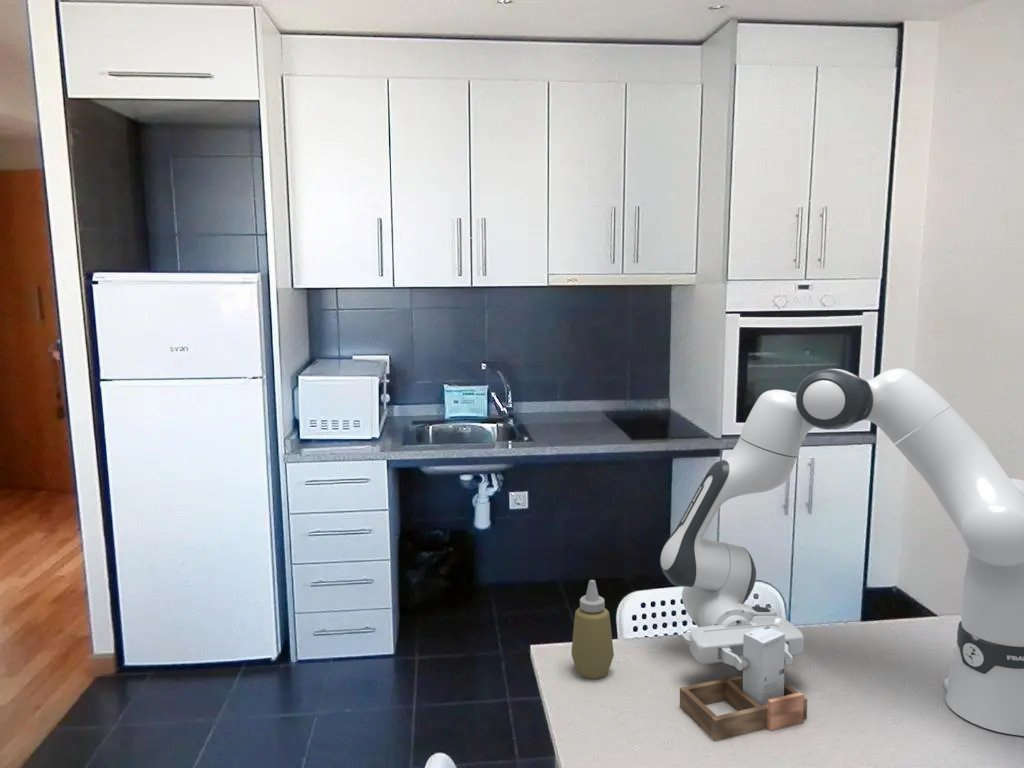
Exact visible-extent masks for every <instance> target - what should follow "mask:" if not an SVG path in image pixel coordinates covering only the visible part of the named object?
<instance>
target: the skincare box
mask: <svg viewBox="0 0 1024 768" xmlns="http://www.w3.org/2000/svg"><path fill="white" fill-rule="evenodd" d="M743 657H744V658H745V659H746V660H747V663H748V665H747V670H742V674H743V691H744V692H745V693H746V694H747V695H748V696H750V697H751V698H752V699H753V700H755V701H756V702H757V703H758V704H760V705H761V706H762V705H767V704H768V700H769V699H773V698H778V697H782V696H784V682H785V666H784V661H785V660H784V657H785V634H784V633H782V632H780V631H777V630H775V629H772V628H770V627H768V626H764V627H761V628H757V629H754V630H752V631H750V632H748V633H745V634H744V636H743Z"/></svg>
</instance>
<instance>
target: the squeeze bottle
mask: <svg viewBox="0 0 1024 768" xmlns="http://www.w3.org/2000/svg"><path fill="white" fill-rule="evenodd" d="M596 583H597V582H596V580H595V579H589V581H588V584H587V590H586V593H585V595H583V596H581V598H579V607H578V608H577V609H576V610H575V612H574V621H573V622H574V623H573V631H572V643H571V657H572V660H573V663H574V666H575V669H576V672H577V673H578V674H579V675H580V676H582V677H583V678H588V679H599V678H600V679H601V678H603V677H605V676H607V675H608V673H609V671H610V667H611V666H612V661H613V659H614V656H615V654H614V645H613V644H614V643H613V636H612V634H613V633H612V625H611V615H610V611H609V610H608V609H607V608H606V604H605V598H604V597H602V596H600V595H599V592H598V591H599V590H598V587H597V584H596Z"/></svg>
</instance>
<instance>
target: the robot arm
mask: <svg viewBox="0 0 1024 768" xmlns="http://www.w3.org/2000/svg"><path fill="white" fill-rule="evenodd" d="M861 421H868V422H870V423H872V424H874V425H876V426H877V427H878V428H879V429H880V430H881V431H882V432H883V433H884V434H885V435H886V436H887V438H888V439H889V440H890V441H891V443H892V444H894V446H895V447H896V448H897V449H898V450H899V452H900V453H901V454H902V455H903V456H904V458H906V459H907V460H908V462H909V463H910V465H911V466H913V468H914V469H916V471H917V472H918V473H919V475H920V476H921V477H922V479H923V480H924V481H925V482H926V484H928V486H929V487H930V489H931V490H932V492H933V493H934V495H935V496H936V498H937V500H938V502H939V503H940V505H941V506H942V508H943V509H944V511H945V512H946V514H947V515H948V517H949V518H950V520H951V521H952V523H953V524H954V526H955V527H956V528H957V530H958V531H959V533H960V535H961V537H962V539H963V542H964V543H965V546H966V548H967V549H968V555H967V559H966V566H965V567H966V568H965V573H964V579H963V589H962V590H963V591H962V607H961V620H960V621H959V622H958V626H957V627H958V628H957V630H956V637H957V638H956V645H955V646H954V648H953V651H952V653H953V654H952V657H951V658H952V659H951V663H950V669H949V675H948V677H946V678H944V679H943V680H944V681H943V684H942V685H943V687H944V689H945V690H946V695H945V703H946V704H947V706H948V707H949V709H951V711H953V713H955V714H956V715H958V716H960V717H961V718H962V719H964V720H966V721H968V722H969V723H972V724H974V725H976V726H979V727H981V728H984V729H988V730H990V731H994V732H998V733H1000V734H1001V733H1003V734H1008V735H1012V736H1013V735H1014V736H1021V737H1024V480H1023V479H1020V478H1013V477H1011V478H1010V477H1009V476H1008V474H1007V473H1006V472H1005V471H1004V469H1003V468H1002V466H1001V465H1000V463H999V462H998V461H997V458H995V456H994V455H993V454H992V452H991V450H990V449H989V447H988V444H987V442H985V441H984V439H983V438H981V436H979V434H978V433H977V432H976V431H975V430H974V429H973V428H972V427H971V425H969V423H968V422H967V421H966V420H965V419H964V418H963V417H962V415H960V414H959V413H958V411H956V409H955V408H954V407H953V406H951V404H950V403H949V402H948V401H947V400H946V399H945V398H944V397H943V396H942V395H941V394H940V393H939V392H938V391H936V389H935V388H933V387H932V386H931V385H930V384H928V383H927V382H926V381H925V380H924V379H922V378H921V377H920V376H919V375H917V374H916V373H914V372H913V371H911V370H910V369H907V368H902V367H896V368H891V369H888V370H885V371H883V372H881V373H879V374H877V375H876V376H875V377H873V378H871V379H863V378H861V377H860V376H858V375H857V374H855V373H852V372H850V371H847V370H845V369H839V368H827V369H820V370H816V371H814V372H812V373H810V374H808V375H807V376H806V377H805V378H804V379H803V380H802V381H801V382H800V384H799V385H798V387H797V390H796V392H793V391H789V390H785V389H770V390H767V391H765V392H762V393H761V395H760V396H758V398H757V399H756V401H755V403H754V405H753V407H752V408H751V410H750V412H749V414H748V416H747V418H746V420H745V423H744V425H743V427H742V428H741V433H740V434H739V437H738V441H737V442H736V445H735V446H734V447H733V449H732V450H731V451H730V453H729V454H727V456H726V457H725V458H723V459H722V460H719V461H716V462H714V463H713V464H712V465H711V467H710V468H709V469H708V471H707V472H706V474H705V476H704V477H703V479H702V481H701V483H700V484H699V486H698V488H697V489H696V491H695V493H694V495H693V497H692V498H691V501H690V503H689V504H688V506H687V508H686V510H685V512H684V514H683V516H682V518H681V519H680V521H679V522H678V525H677V526H676V528H675V529H674V531H673V532H672V533H671V535H670V536H669V537H668V538H667V540H666V541H665V543H664V544H663V546H662V550H661V552H660V555H659V564H660V565H659V566H660V569H661V571H662V572H663V574H664V576H665V577H666V579H667V580H668V581H669V582H670V583H671V584H672V585H674V586H677V587H678V586H679V587H683V588H682V591H681V598H682V599H681V600H682V604H683V607H684V609H685V611H686V613H687V614H688V616H689V618H690V619H691V620H692V621H693V623H694V624H695V625H696V627H692V628H690V629H688V630H687V629H686V631H685V632H682V633H681V639H682V640H683V642H684V643H686V644H688V645H689V650H690V652H691V654H692V656H693V657H694V659H695V660H696V661H697V662H698V663H700V664H703V665H708V664H709V665H710V664H718V663H720V664H721V663H724V664H727V665H730V666H732V667H735V668H736V669H737V670H738V671H743V670H747V665H748V663H747V660H746V659H745V658H744V657H743V636H744V634H745V633H748V632H750V631H752V630H754V629H757V628H761V627H764V626H768V627H770V628H772V629H775V630H777V631H780V632H782V633H784V634H785V657H784V660H785V661H784V667H787V666H793V664H794V657H793V656H800V655H802V654H803V652H804V650H805V649H804V648H805V636H804V634H803V632H802V631H801V630H800V629H798V627H796V626H795V625H794V624H793V623H791V622H790V621H789V620H787V619H785V618H783V617H781V616H778V615H777V611H776V610H775V609H774V608H771V607H766V606H765V607H763V606H753V605H748V604H745V603H746V601H747V600H748V598H749V597H750V595H751V593H752V592H753V590H754V587H755V583H756V581H757V580H756V579H757V569H756V566H755V565H756V564H755V562H754V559H753V557H752V555H751V554H750V552H749V551H748V550H747V548H745V547H743V546H740V545H737V544H736V545H735V544H732V543H728V542H727V543H726V542H721V541H716V540H711V539H706V538H704V536H705V535H706V532H707V530H708V529H709V527H710V525H711V523H712V522H713V519H714V518H715V515H716V514H717V512H718V511H719V509H720V507H722V505H723V504H724V503H726V502H728V501H729V500H731V499H733V498H738V497H740V496H744V495H751V494H759V493H765V492H769V491H772V490H774V489H776V488H779V487H780V486H781V485H783V484H784V483H785V482H786V481H787V480H788V478H789V477H790V475H791V474H792V471H793V469H794V466H795V464H796V461H797V458H798V455H799V452H800V449H801V446H802V444H803V442H804V440H805V438H806V436H807V434H808V433H809V432H810V431H811V430H812V429H814V428H818V429H821V430H826V431H827V430H843V429H847V428H850V427H852V426H854V425H856V424H858V423H859V422H861Z"/></svg>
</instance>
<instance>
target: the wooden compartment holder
mask: <svg viewBox="0 0 1024 768" xmlns="http://www.w3.org/2000/svg"><path fill="white" fill-rule="evenodd" d="M722 701H724V702H726V703H727V704H728V705H729V706H731V708H733V709H734V710H735V711H734V712H733V711H732V712H729V713H724V714H720V715H717V714H716V713H714V712H713V711H712V709H710V708H709V707H708V706H707V705H710V704H715V703H718V702H719V703H720V702H722ZM679 708H680V709H681V710H683V711H684V712H685V714H686V715H688V717H690V719H692V720H693V722H695V723H696V725H698V726H699V727H700V728H701V729H702V730H703V731H704V732H705V733H706V734H707V735H708V736H709V737H710V738H712V740H713V741H714V742H717V741H721V740H724V739H725V740H727V739H729V738H733V737H736V736H741V735H745V734H750V733H754V732H758V731H762V730H766V729H767V730H768V731H770V732H772V731H775V730H779V729H780V730H781V729H783V728H788V727H791V726H796V725H799V724H803V722H804V720H806V719H807V717H808V698H807V697H806V696H805V695H804V694H803V693H802V692H801V691H800V692H798V691H797V690H796V689H795V688H793V687H792V686H790V685H789V684H788V683H786V682H785V681H784V696H782V697H778V698H773V699H769V700H768V704H767V705H762V706H761V705H760V704H758V703H757V702H756V701H755V700H753V699H752V698H751V697H750V696H748V695H747V694H746V693H745V692H744V691H743V673H742V674H737V675H734V676H729V677H724V678H720V679H715V680H710V681H705V682H700V683H697V684H691V685H687V686H682V687H679Z"/></svg>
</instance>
